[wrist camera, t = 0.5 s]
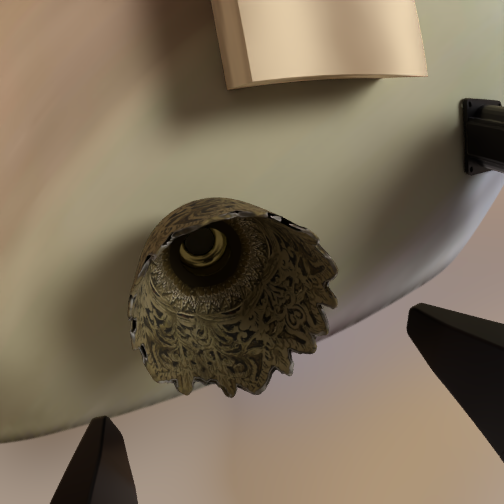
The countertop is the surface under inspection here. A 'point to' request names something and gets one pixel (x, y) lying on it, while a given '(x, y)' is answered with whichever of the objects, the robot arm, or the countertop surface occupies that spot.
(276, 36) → the pedestal
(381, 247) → the countertop surface
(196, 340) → the cup
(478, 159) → the robot arm
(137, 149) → the countertop surface
